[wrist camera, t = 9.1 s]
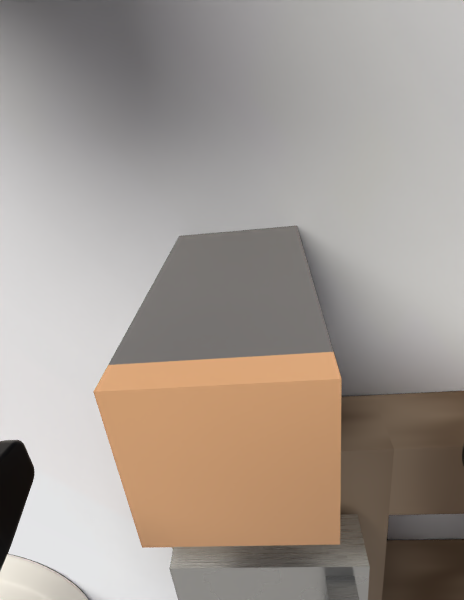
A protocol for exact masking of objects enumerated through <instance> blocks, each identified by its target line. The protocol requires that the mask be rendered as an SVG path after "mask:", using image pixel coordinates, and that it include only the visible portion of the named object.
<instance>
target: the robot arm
mask: <svg viewBox="0 0 464 600" xmlns="http://www.w3.org/2000/svg"><path fill="white" fill-rule="evenodd" d="M462 463H463V467H464V444H463V450H462ZM33 479H34V466H33V464H32V462H31V459H30V457H29V455H28V452H27V450H26V448H25V445H24V444H23V443H22V442H21V441H19V440H4V441H0V571H1V568H2V566H3V564H4V561H5V559H6V557H7V554H8V552H9V549H10V546H11V544H12V541H13V538H14V535H15V532H16V529H17V526H18V523H19V521H20V518H21V515H22V512H23V509H24V506H25V503H26V500H27V497H28V494H29V491H30V488H31V485H32V482H33Z"/></svg>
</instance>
